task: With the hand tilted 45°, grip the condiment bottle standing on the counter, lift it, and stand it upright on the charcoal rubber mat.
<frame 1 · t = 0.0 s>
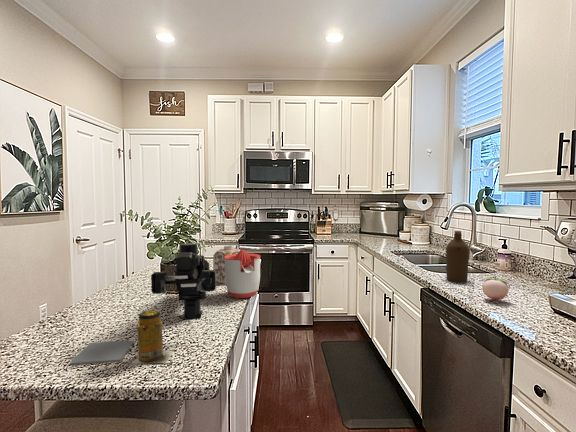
hand: (179, 288, 95), 17 cm above the worktop, tool horizontal, fingers open, 9 cm apart
condiment: (153, 358, 89), on the worktop
decorative fruit: (495, 301, 136), on the worktop
mat: (104, 352, 92), on the worktop
decorative jar: (229, 281, 171), on the worktop
citrus juicer: (243, 296, 145), on the worktop
olive oil: (456, 280, 171), on the worktop
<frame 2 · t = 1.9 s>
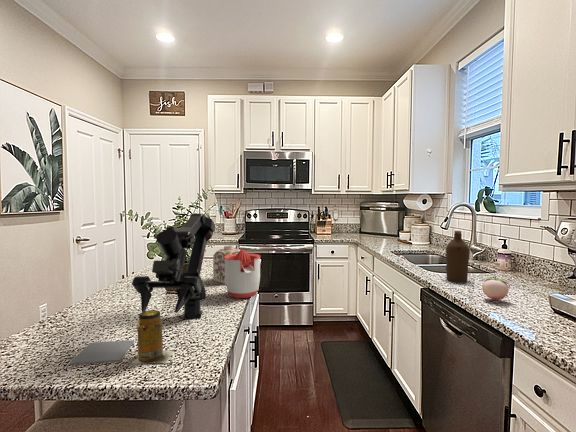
hand: (159, 312, 92), 11 cm above the worktop, tool tilted 45°, fingers open, 9 cm apart
nothing on the worktop moved.
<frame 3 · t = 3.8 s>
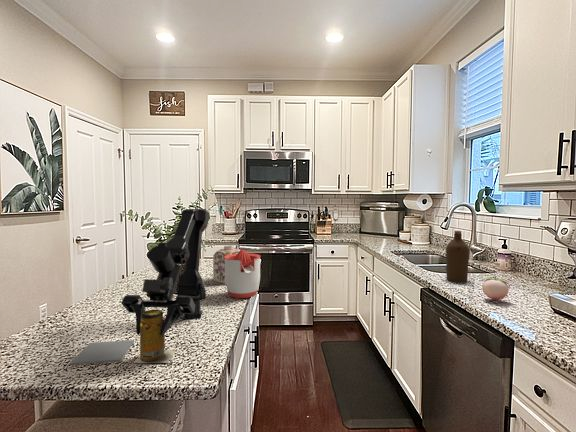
hand: (149, 334, 87), 7 cm above the worktop, tool tilted 45°, fingers closed on condiment, 6 cm apart
condiment: (155, 357, 89), on the worktop, touching gripper
everything else where it was.
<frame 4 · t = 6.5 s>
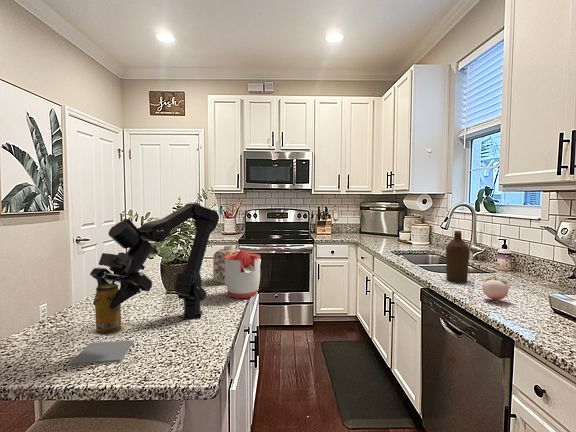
hand: (102, 306, 89), 13 cm above the worktop, tool tilted 45°, fingers closed on condiment, 6 cm apart
condiment: (111, 330, 91), point 6 cm above the worktop, touching gripper
everything else where it was.
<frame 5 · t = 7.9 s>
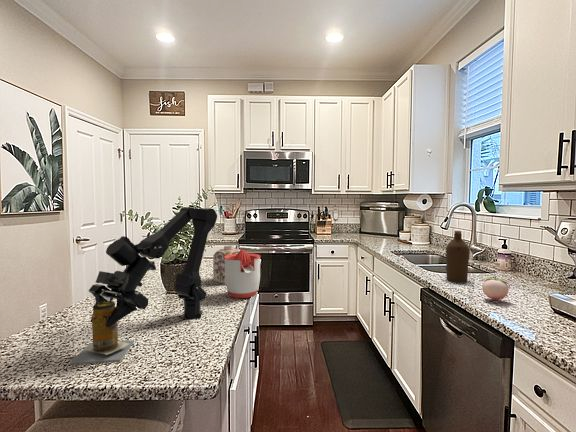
hand: (99, 324, 90), 8 cm above the worktop, tool tilted 45°, fingers closed on condiment, 6 cm apart
condiment: (107, 348, 92), point 1 cm above the worktop, touching gripper
everything else where it was.
when the fingers open (8 cm above the worktop, at t = 8.7 s): condiment stays where it is, resting on mat.
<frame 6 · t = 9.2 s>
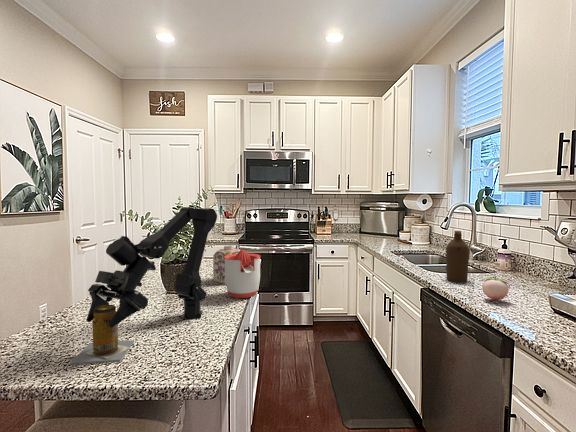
hand: (98, 324, 90), 8 cm above the worktop, tool tilted 45°, fingers open, 9 cm apart
condiment: (107, 351, 92), resting on mat
everything else where it was.
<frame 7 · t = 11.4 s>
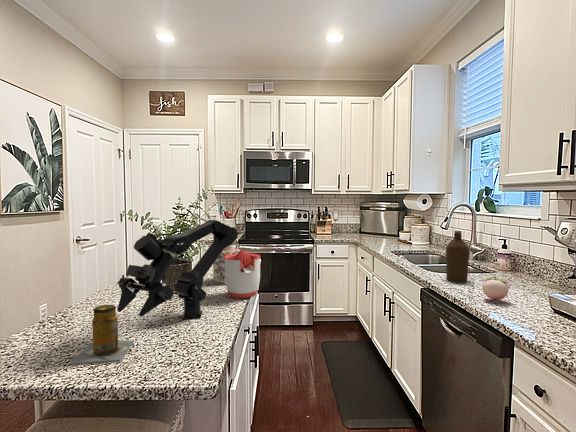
hand: (129, 313, 99), 8 cm above the worktop, tool tilted 45°, fingers open, 9 cm apart
nothing on the worktop moved.
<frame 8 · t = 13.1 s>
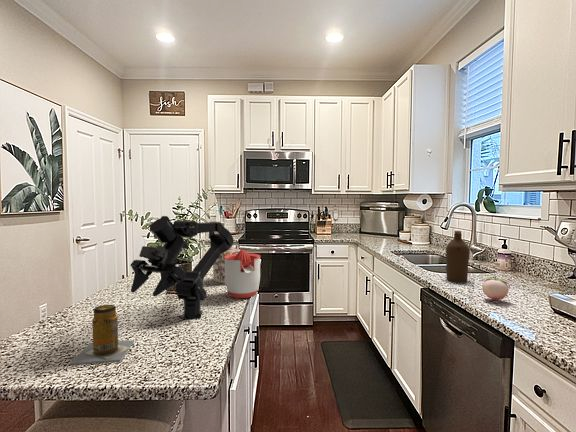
hand: (142, 293, 100), 14 cm above the worktop, tool tilted 45°, fingers open, 9 cm apart
nothing on the worktop moved.
at the end: condiment inside the target area on the mat (1.0 cm from its centre), point 0.3 cm above the mat's base; condiment tilted 0°; the gripper is holding nothing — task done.
